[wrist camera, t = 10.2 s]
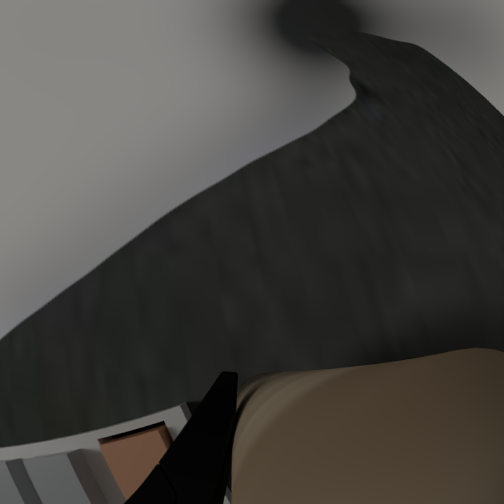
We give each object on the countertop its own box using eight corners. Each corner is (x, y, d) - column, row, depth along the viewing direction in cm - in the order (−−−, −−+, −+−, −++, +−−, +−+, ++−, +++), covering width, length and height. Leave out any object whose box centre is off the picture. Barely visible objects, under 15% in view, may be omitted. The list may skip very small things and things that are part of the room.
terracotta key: (192, 477, 17) (187, 489, 14) (138, 490, 16) (128, 502, 14) (166, 423, 18) (157, 429, 16) (113, 439, 17) (99, 445, 15)
